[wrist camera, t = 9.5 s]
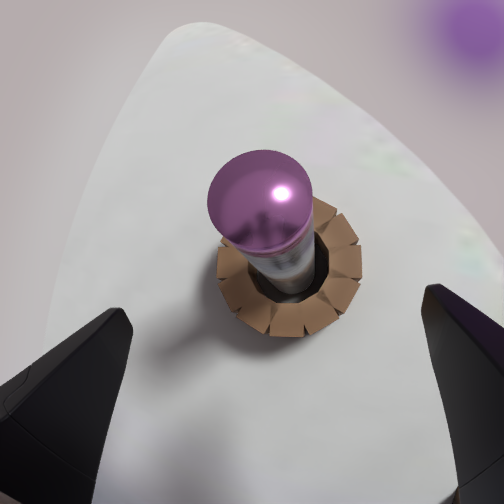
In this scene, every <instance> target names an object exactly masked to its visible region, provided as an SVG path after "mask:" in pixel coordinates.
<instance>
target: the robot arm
mask: <svg viewBox="0 0 504 504" xmlns="http://www.w3.org/2000/svg"><path fill="white" fill-rule="evenodd" d="M421 315H422V320H423V324H424V329H425V333H426V338H427V343H428V348H429V353H430V358H431V362H432V366H433V370H434V373H435V376H436V380H437V383H438V387H439V391H440V395H441V398H442V402H443V406H444V410H445V415H446V419H447V423H448V428H449V433H450V438H451V443H452V448H453V453H454V459H455V465H456V472H457V479H458V487H459V488H460V489H459V497H460V504H504V328H503V327H502V326H500V325H499V324H497V323H496V322H495V321H493V320H492V319H491V318H489V317H488V316H486V315H485V314H484V313H482V312H481V311H479V310H478V309H477V308H475V307H474V306H472V305H471V304H470V303H468V302H467V301H465V300H464V299H462V298H461V297H459V296H458V295H456V294H455V293H453V292H452V291H451V290H449V289H448V288H446V287H445V286H443V285H441V284H431V285H428V286H426V288H425V292H424V297H423V302H422V307H421ZM132 336H133V327H132V325H131V323H130V321H129V319H128V317H127V315H126V313H125V311H124V310H123V309H122V308H109V309H108V310H106V311H105V312H103V313H102V314H101V315H99V316H98V317H96V318H95V319H93V320H92V321H91V322H89V323H88V324H86V325H85V326H84V327H82V328H81V329H79V330H78V331H76V332H75V333H74V334H72V335H71V336H69V337H68V338H67V339H65V340H64V341H63V342H61V343H60V344H58V345H57V346H56V347H54V348H53V349H51V350H50V351H49V352H47V353H46V354H45V355H43V356H42V357H40V358H39V359H38V360H36V361H35V362H34V363H32V365H30V366H28V367H27V368H26V369H24V370H23V371H21V372H20V373H19V374H17V375H16V376H15V377H13V378H12V379H10V380H9V381H7V382H6V383H4V384H3V385H2V386H0V504H91V503H92V498H93V493H94V488H95V483H96V478H97V473H98V469H99V464H100V460H101V456H102V452H103V448H104V444H105V440H106V436H107V432H108V428H109V425H110V421H111V417H112V414H113V410H114V407H115V403H116V400H117V396H118V393H119V390H120V386H121V383H122V380H123V376H124V373H125V368H126V364H127V359H128V354H129V350H130V345H131V341H132Z"/></svg>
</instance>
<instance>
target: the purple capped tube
mask: <svg viewBox="0 0 504 504" xmlns="http://www.w3.org/2000/svg"><path fill="white" fill-rule="evenodd" d="M207 207H208V212H209V216H210V219H211V221H212V223H213V225H214V226H215V228H216V229H217V230H218V231H219V232H220V233H221V234H222V235H223V236H224V237H225V238H226V239H227V240H228V241H229V242H230V243H231V244H232V245H233V246H234V247H235V248H236V249H237V250H238V251H239V252H240V253H241V254H242V255H243V256H244V257H245V258H246V259H247V260H248V261H249V262H250V263H251V264H252V265H253V266H254V267H255V268H256V269H257V270H258V271H259V272H260V273H262V274H263V275H264V276H265V277H266V278H267V279H268V280H269V281H270V282H271V283H272V284H273V285H274V286H275V287H276V288H277V289H278V290H280V291H281V292H284V293H287V294H297V293H300V292H302V291H304V290H306V289H307V288H308V287H309V286H310V284H311V283H312V281H313V279H314V275H315V254H314V220H313V197H312V186H311V182H310V179H309V177H308V175H307V173H306V171H305V170H304V169H303V167H302V166H301V165H300V164H299V163H298V162H297V161H296V160H294V159H293V158H291V157H290V156H288V155H286V154H283V153H281V152H277V151H272V150H255V151H250V152H247V153H243V154H241V155H239V156H237V157H235V158H233V159H232V160H230V161H229V162H227V163H226V164H225V165H224V166H223V167H222V168H221V169H220V170H219V171H218V173H217V174H216V176H215V177H214V179H213V181H212V183H211V185H210V188H209V192H208V199H207Z"/></svg>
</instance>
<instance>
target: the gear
mask: <svg viewBox="0 0 504 504" xmlns="http://www.w3.org/2000/svg"><path fill="white" fill-rule="evenodd" d="M312 197H313V196H312ZM336 213H337V208H335V207H333V206H331V205H329V204H327V203H325V202H323V201H321V200H319V199H317V198H315V197H313V220H314V243H315V244H317V245H318V246H319V248H320V250H321V251H322V253H323V255H324V256H325V258H326V260H327V278H326V280H325V281H324V283H323V285H322V287H321V288H320V290H319V292H318V293H316V294H314V295H312V296H311V297H309V298H307V299H305V300H304V301H302V302H300V303H276V302H274V301H272V300H271V299H269V298H267V297H266V296H265V295H264V293H263V291H262V289H261V287H260V285H259V283H258V282H257V269H256V268H255V267H254V266H253V265H252V264H251V263H250V262H249V261H248V260H247V259H246V258H245V257H244V256H243V255H242V254H241V253H240V252H239V251H238V250H237V249H236V248H235V247H234V246H233V245H232V244H231V243H230V242H229V241H228V240H227V239H226V238H225V237H224V236H223V238H222V239H221V241H220V242H221V243H223V244H224V245H225V246H226V247H218V260H217V276H216V278H218V279H220V280H222V282H220V283H218V286H219V288H220V290H221V292H222V294H223V296H224V298H225V300H226V302H227V304H228V306H229V308H230V310H231V312H234V313H238V314H237V316H236V317H237V318H239V319H240V320H242V321H243V322H245V323H246V324H248V325H249V326H251V327H253V328H254V329H256V330H257V331H259V332H261V333H262V334H268V333H270V336H280V337H304V336H305V327H306V329H307V331H308V333H309V335H311V334H313V333H315V332H317V331H318V330H320V329H322V328H324V327H325V326H327V325H329V324H331V323H332V322H334V321H336V320H337V319H339V316H338V315H337V314H339V315H342V314H344V313H345V311H346V310H347V308H348V306H349V304H350V302H351V301H352V299H353V297H354V295H355V293H356V292H357V290H358V288H359V286H360V283H358V281H359V280H360V279H361V278H362V258H361V245H356V244H357V242H358V240H359V238H358V237H357V235H356V234H355V232H354V231H353V229H352V228H351V226H350V224H349V223H348V221H347V220H346V218H345V217H344V215H343V214H342V213H341V214H339V215H337V216H336Z"/></svg>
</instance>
